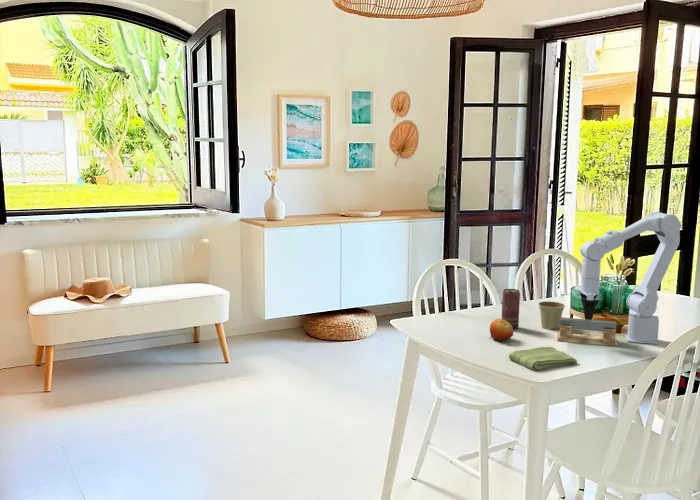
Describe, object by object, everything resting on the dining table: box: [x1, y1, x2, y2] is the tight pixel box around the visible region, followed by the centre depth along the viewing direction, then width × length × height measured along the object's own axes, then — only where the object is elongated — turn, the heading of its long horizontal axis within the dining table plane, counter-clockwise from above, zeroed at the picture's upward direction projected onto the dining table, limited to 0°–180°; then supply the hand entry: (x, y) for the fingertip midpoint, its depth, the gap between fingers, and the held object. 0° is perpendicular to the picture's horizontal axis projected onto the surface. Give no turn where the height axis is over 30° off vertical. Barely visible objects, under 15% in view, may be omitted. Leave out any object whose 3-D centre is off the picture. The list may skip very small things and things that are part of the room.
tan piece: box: [556, 325, 618, 347], centre depth 222 cm, size 19×8×5 cm, turn 72°
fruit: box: [489, 318, 514, 342], centre depth 224 cm, size 8×8×8 cm
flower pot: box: [537, 300, 566, 330], centre depth 238 cm, size 9×9×9 cm
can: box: [501, 288, 521, 331], centre depth 237 cm, size 6×6×14 cm
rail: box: [559, 316, 617, 333], centre depth 222 cm, size 18×3×3 cm, turn 72°
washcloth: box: [508, 346, 578, 371], centre depth 201 cm, size 13×18×3 cm
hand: (587, 316), depth 222 cm, fingers open, 7 cm apart
